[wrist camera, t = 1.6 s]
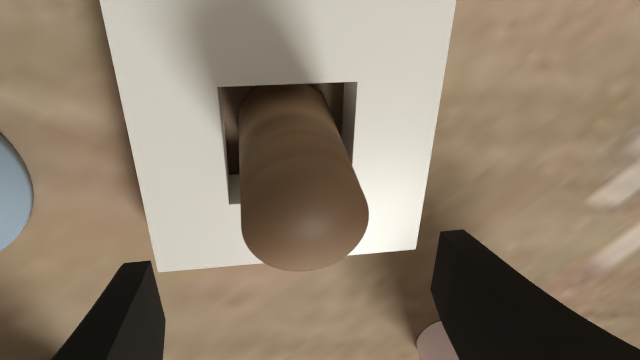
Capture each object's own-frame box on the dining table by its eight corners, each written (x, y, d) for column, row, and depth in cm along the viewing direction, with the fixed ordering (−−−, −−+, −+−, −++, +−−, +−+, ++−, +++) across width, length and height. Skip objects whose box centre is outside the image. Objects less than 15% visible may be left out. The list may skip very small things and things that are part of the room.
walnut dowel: (327, 157, 23) (364, 265, 16) (241, 162, 22) (245, 276, 16) (330, 75, 20) (374, 164, 14) (234, 78, 20) (236, 172, 14)
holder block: (401, 219, 25) (415, 249, 23) (164, 238, 24) (158, 272, 22) (434, -27, 19) (458, -15, 17) (112, -25, 17) (96, -12, 15)
